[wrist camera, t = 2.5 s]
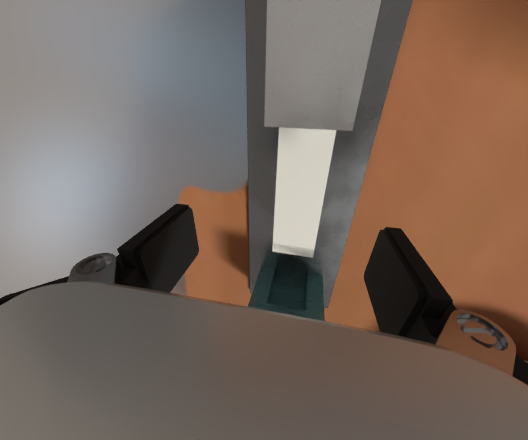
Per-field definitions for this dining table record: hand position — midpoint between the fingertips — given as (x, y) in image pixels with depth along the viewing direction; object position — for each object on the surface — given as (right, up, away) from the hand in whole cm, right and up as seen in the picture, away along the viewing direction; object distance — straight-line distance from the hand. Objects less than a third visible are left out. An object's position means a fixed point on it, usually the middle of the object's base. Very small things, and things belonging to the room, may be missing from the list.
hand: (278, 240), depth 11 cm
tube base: (+4, +6, +12) cm, 14 cm away
